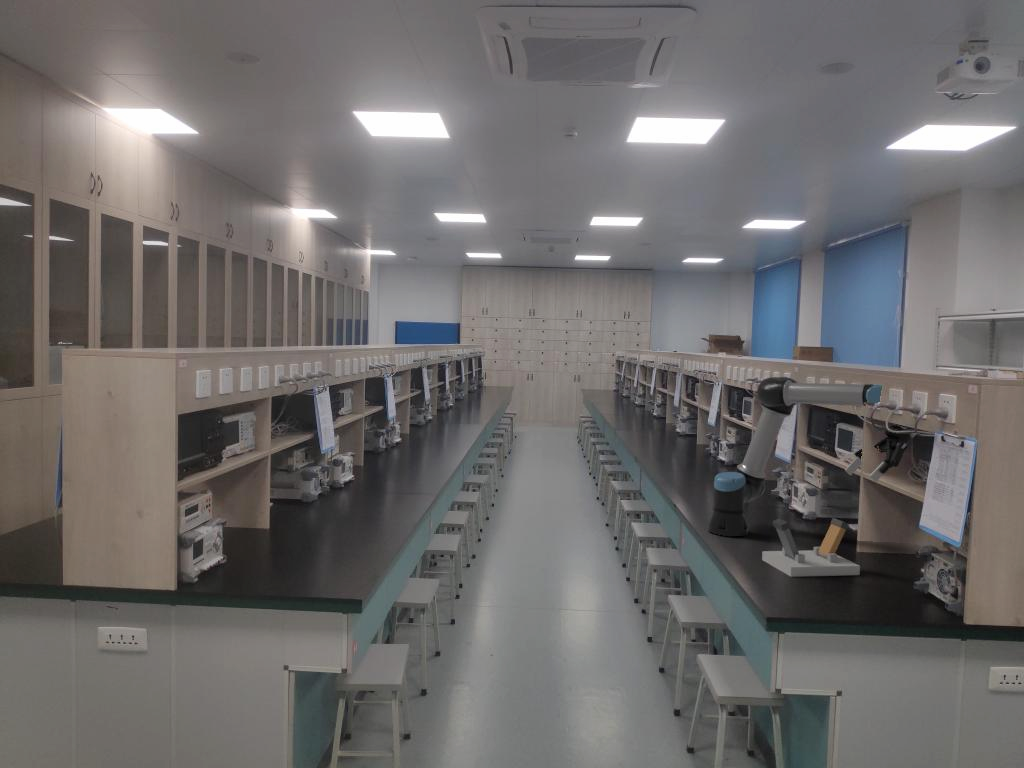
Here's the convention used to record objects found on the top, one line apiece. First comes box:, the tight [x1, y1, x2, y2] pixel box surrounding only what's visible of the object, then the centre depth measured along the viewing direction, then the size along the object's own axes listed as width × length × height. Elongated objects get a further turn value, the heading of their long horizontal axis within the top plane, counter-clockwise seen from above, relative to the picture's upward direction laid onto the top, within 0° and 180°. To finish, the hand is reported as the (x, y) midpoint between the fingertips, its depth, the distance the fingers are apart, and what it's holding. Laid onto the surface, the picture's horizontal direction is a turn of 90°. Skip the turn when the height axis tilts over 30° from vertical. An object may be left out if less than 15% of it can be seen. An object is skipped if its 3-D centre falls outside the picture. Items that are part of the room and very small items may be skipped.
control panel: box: [761, 546, 861, 578], centre depth 214 cm, size 17×24×6 cm
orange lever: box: [818, 517, 850, 558], centre depth 215 cm, size 5×3×13 cm, turn 8°
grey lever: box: [772, 517, 799, 559], centre depth 212 cm, size 5×3×13 cm, turn 8°
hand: (859, 475), depth 219 cm, fingers open, 13 cm apart
